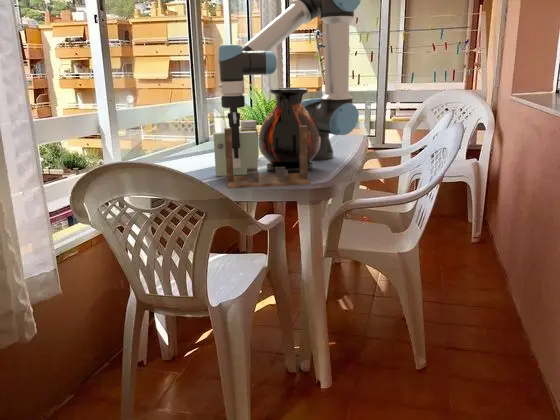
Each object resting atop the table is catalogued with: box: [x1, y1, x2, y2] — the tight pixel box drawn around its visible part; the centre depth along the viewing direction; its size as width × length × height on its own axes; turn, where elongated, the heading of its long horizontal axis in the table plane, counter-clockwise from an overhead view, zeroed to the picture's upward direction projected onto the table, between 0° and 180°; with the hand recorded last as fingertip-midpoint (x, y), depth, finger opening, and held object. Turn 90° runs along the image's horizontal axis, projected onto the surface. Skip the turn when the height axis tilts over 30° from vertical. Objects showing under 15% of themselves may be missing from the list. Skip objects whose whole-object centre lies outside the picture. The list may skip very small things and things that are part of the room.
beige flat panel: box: [212, 131, 259, 177], centre depth 164 cm, size 14×4×14 cm, turn 98°
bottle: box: [240, 119, 260, 160], centre depth 195 cm, size 7×7×15 cm
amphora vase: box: [258, 87, 321, 174], centre depth 170 cm, size 22×22×28 cm
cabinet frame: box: [223, 125, 312, 189], centre depth 152 cm, size 25×13×18 cm, turn 98°
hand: (236, 166), depth 166 cm, fingers closed on beige flat panel, 3 cm apart
